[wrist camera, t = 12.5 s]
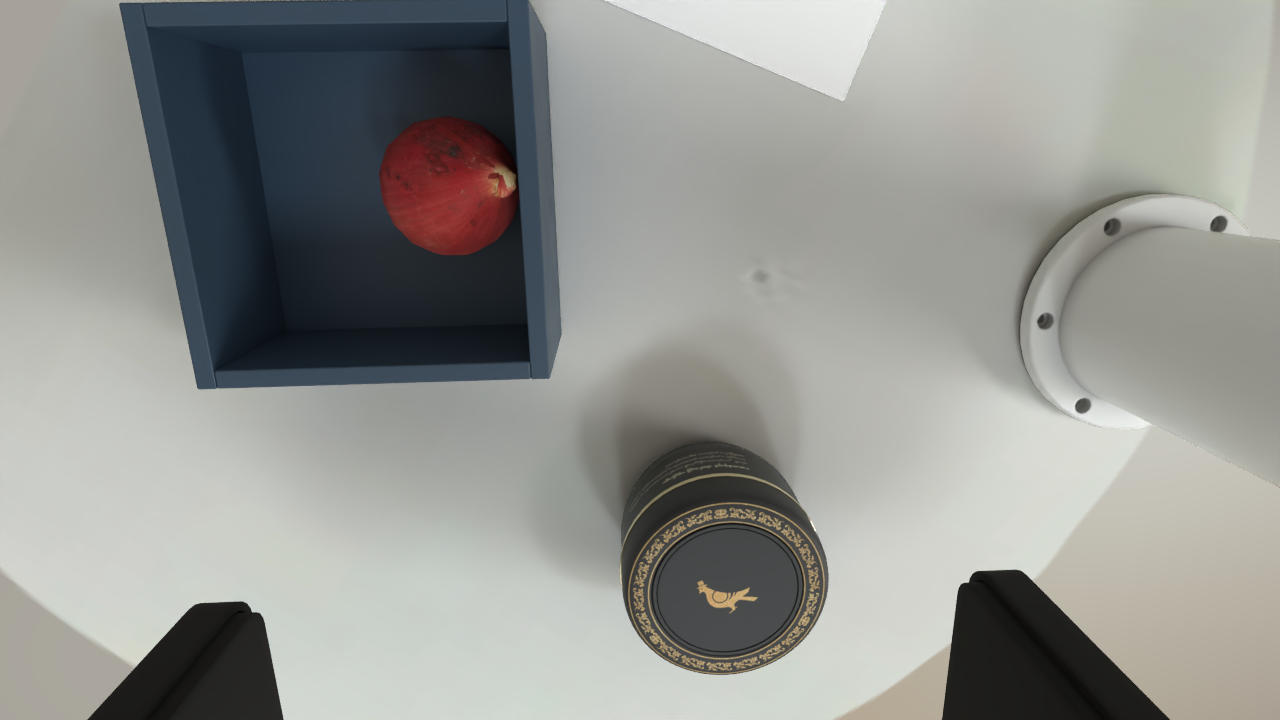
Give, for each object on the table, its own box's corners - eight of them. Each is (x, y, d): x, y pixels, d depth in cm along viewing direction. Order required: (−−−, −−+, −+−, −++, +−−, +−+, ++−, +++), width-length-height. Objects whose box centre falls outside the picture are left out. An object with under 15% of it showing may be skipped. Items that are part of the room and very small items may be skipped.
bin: (545, 32, 33) (528, -3, 26) (561, 334, 37) (550, 378, 30) (227, 36, 33) (117, 2, 25) (278, 343, 37) (197, 389, 29)
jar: (801, 573, 42) (842, 662, 35) (634, 601, 42) (640, 697, 35) (782, 417, 39) (822, 478, 32) (604, 448, 39) (602, 516, 32)
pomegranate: (322, 189, 31) (410, 165, 25) (404, 105, 33) (502, 67, 27) (416, 282, 34) (512, 280, 28) (484, 200, 36) (586, 183, 31)
